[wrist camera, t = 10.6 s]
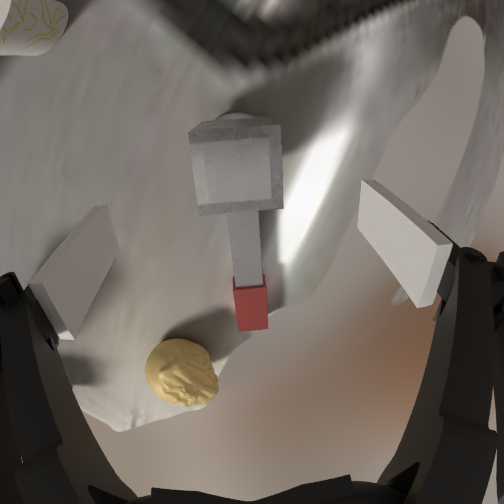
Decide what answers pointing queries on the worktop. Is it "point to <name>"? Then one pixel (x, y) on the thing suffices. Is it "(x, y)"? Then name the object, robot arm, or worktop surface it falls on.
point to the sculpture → (181, 373)
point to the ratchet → (247, 263)
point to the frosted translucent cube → (237, 165)
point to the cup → (31, 26)
